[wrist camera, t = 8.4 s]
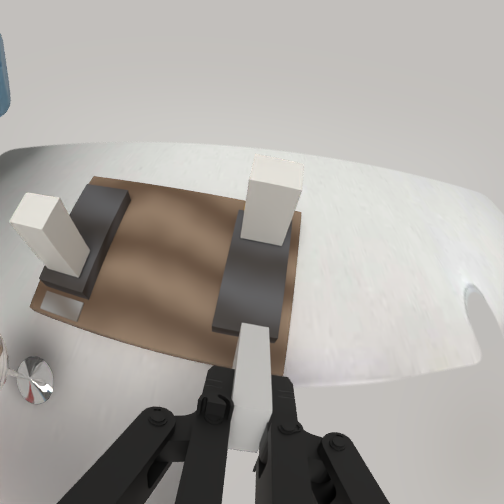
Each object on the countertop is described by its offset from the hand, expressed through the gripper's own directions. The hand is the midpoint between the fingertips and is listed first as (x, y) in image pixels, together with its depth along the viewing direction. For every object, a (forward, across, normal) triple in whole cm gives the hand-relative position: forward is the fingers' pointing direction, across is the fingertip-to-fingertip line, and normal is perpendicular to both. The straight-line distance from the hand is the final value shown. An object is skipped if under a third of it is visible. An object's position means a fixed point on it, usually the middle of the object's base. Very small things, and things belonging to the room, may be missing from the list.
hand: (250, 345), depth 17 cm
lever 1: (+10, -18, -2) cm, 20 cm away
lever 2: (+15, 0, +4) cm, 15 cm away
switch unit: (+14, -9, -2) cm, 17 cm away
